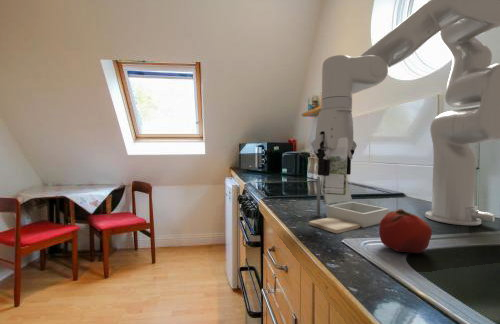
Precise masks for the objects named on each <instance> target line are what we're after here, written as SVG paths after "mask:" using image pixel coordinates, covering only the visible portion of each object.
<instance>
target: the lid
mask: <svg viewBox="0 0 500 324" xmlns="http://www.w3.org/2000/svg"><path fill="white" fill-rule="evenodd" d="M315 167H316V170H317V171H318V164H317V165H315ZM318 177H321V191H322V192H323V175H318ZM348 183H349V182H348V179H347V177H346V195H334V194H323V193H322V195H323V199H324V203H325V205H330V204H338V203H344V202H350V201H352V200H353V198H352V195H351V194H352V193H351V191H350V186H349V184H348Z"/></svg>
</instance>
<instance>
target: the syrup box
mask: <svg viewBox="0 0 500 324" xmlns="http://www.w3.org/2000/svg"><path fill="white" fill-rule="evenodd" d="M324 147H327V143H326V142H325V139H324ZM347 148H348V139H347V138H339V139H338V143H337V148H336V149H335V150H331V152H330V155H329V157H328V159H327V160H330V170H329V176H323V191H322V195H323V194H334V195H346V178H347ZM324 153H325V151H324Z"/></svg>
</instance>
